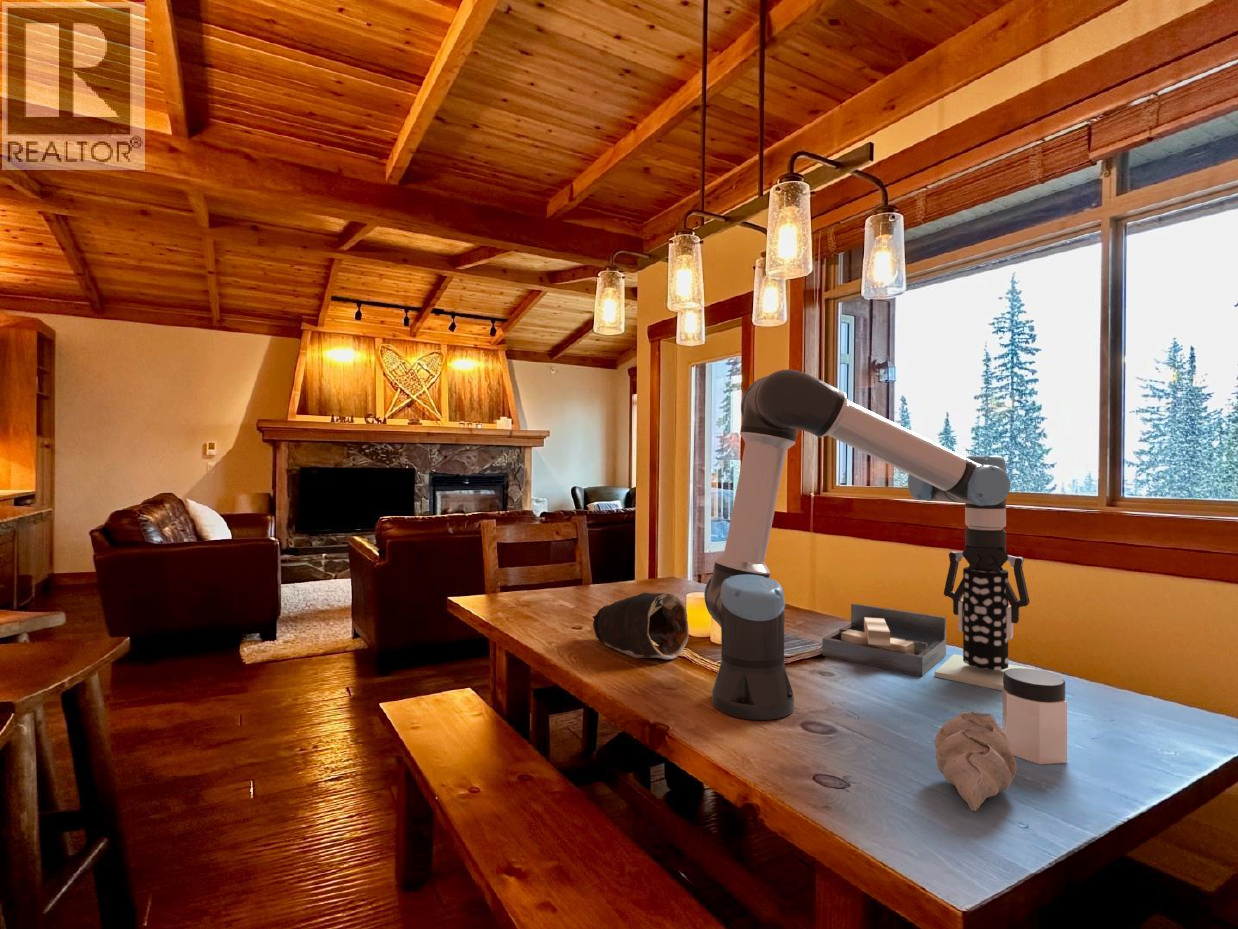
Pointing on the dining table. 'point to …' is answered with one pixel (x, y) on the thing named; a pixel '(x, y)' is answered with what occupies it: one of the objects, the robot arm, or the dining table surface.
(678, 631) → the clay pot
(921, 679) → the dining table surface
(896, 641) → the offcut middle
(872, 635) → the offcut top
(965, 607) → the spotted tube
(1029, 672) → the jar
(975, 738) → the seashell
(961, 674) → the mat
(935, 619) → the tray
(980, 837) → the dining table surface
